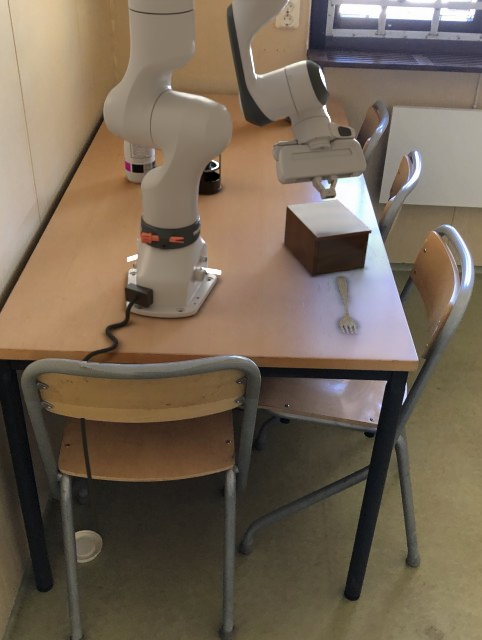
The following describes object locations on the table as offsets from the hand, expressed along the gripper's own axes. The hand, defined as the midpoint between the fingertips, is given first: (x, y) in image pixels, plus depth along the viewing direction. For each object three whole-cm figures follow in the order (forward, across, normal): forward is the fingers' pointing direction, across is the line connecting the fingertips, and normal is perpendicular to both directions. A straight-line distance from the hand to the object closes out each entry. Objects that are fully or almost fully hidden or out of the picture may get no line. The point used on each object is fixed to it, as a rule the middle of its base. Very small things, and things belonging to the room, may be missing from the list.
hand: (329, 197), depth 151 cm
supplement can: (-29, -29, +50) cm, 65 cm away
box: (+10, 0, +10) cm, 14 cm away
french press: (-22, -14, +42) cm, 50 cm away
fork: (+25, -5, -5) cm, 26 cm away
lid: (+4, 0, +4) cm, 5 cm away
